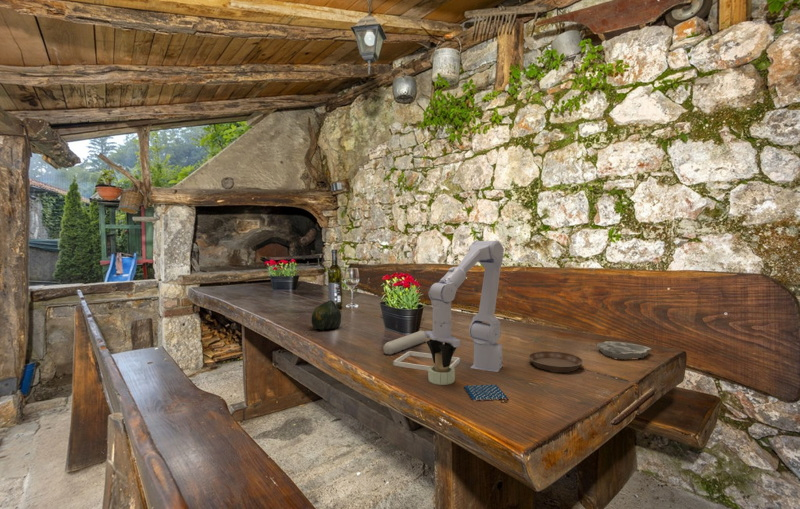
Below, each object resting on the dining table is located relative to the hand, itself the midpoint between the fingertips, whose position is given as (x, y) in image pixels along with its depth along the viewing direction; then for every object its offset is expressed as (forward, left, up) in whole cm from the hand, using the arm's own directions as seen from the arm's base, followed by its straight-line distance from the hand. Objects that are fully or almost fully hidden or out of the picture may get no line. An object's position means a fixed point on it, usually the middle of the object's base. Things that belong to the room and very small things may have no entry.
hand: (441, 364), depth 121 cm
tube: (+26, -29, -6) cm, 40 cm away
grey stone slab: (-53, -58, -6) cm, 79 cm away
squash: (+76, -44, -6) cm, 88 cm away
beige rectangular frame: (+10, -13, -5) cm, 17 cm away
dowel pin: (0, 0, -5) cm, 5 cm away
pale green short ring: (0, 0, -5) cm, 5 cm away
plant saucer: (-31, -32, -6) cm, 45 cm away
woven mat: (-15, +5, -6) cm, 17 cm away
